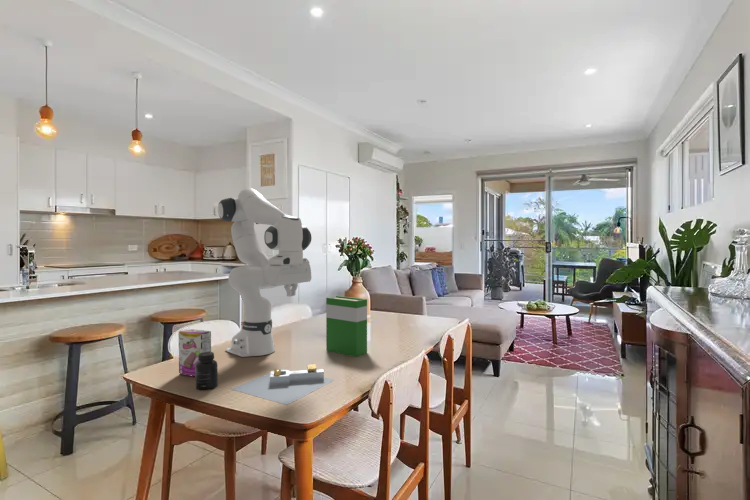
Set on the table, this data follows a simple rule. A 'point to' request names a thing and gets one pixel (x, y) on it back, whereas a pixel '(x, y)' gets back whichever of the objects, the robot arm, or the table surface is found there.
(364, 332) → the hardback book
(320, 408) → the table surface
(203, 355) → the supplement bottle
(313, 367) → the keeper
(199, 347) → the candy bar box
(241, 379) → the table surface
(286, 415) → the table surface
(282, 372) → the link
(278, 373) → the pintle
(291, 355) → the table surface
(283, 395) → the board
